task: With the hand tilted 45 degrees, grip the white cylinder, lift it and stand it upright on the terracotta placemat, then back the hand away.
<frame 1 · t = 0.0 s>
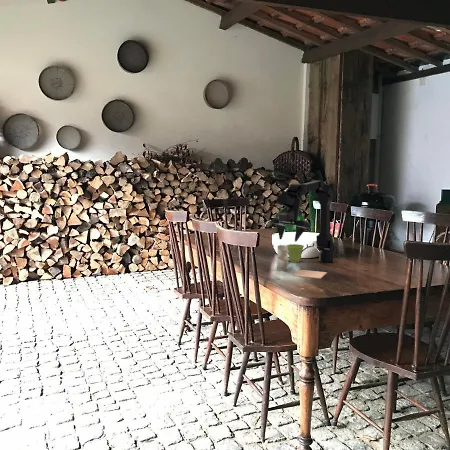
hand: (287, 240, 236), 15 cm above the table, tool pointing down, fingers open, 9 cm apart
white cylinder: (282, 269, 242), on the table
placemat: (310, 274, 233), on the table
plant pot: (294, 261, 263), on the table
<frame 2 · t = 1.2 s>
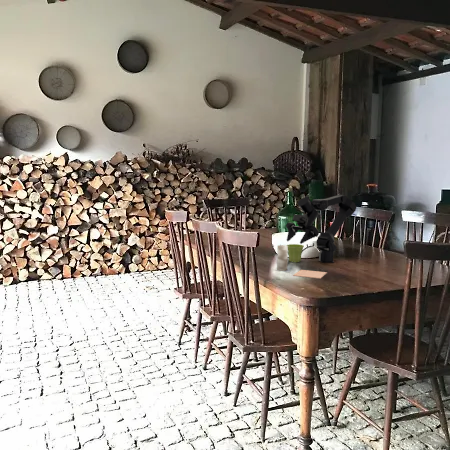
hand: (293, 242, 245), 13 cm above the table, tool tilted 45°, fingers open, 9 cm apart
nothing on the table moved.
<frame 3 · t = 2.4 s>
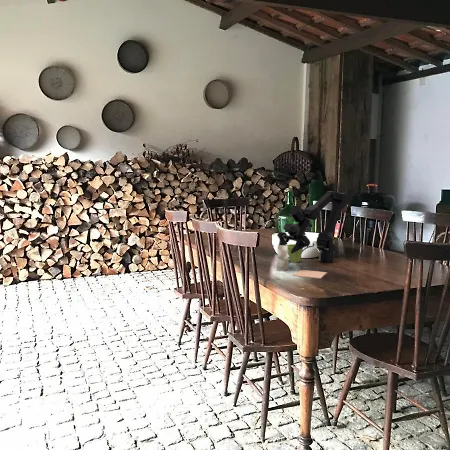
hand: (284, 251, 242), 9 cm above the table, tool tilted 45°, fingers open, 9 cm apart
nothing on the table moved.
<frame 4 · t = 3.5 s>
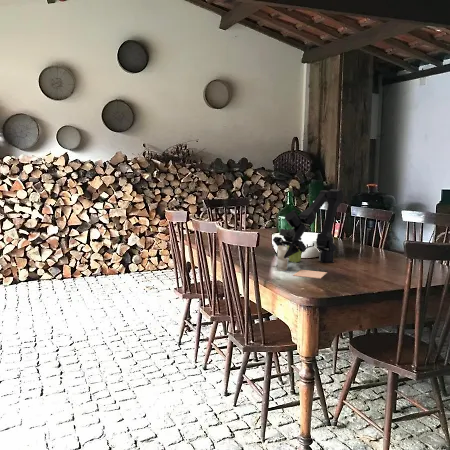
hand: (280, 257, 241), 7 cm above the table, tool tilted 45°, fingers closed on white cylinder, 5 cm apart
white cylinder: (282, 269, 242), on the table, touching gripper
everything else where it was.
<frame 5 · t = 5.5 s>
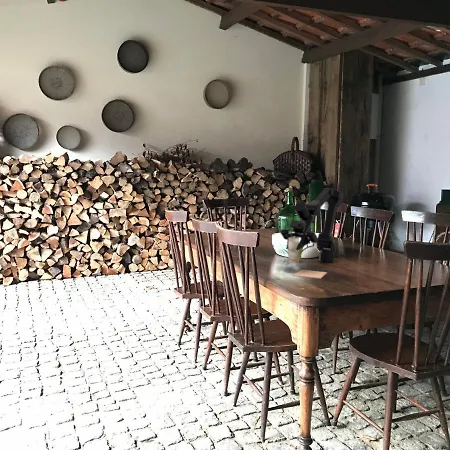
hand: (292, 249, 235), 11 cm above the table, tool tilted 45°, fingers closed on white cylinder, 5 cm apart
white cylinder: (293, 262, 237), point 5 cm above the table, touching gripper
everything else where it was.
when the fingers open (8 cm above the table, at t = 7.3 s): white cylinder drops 1 cm, resting on placemat.
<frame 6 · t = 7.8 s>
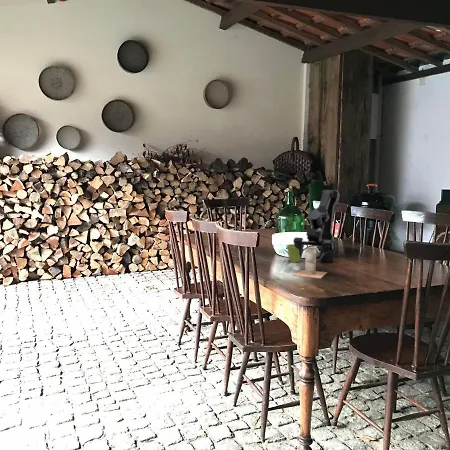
hand: (309, 258, 230), 8 cm above the table, tool tilted 45°, fingers open, 9 cm apart
white cylinder: (310, 273, 233), resting on placemat
everything else where it was.
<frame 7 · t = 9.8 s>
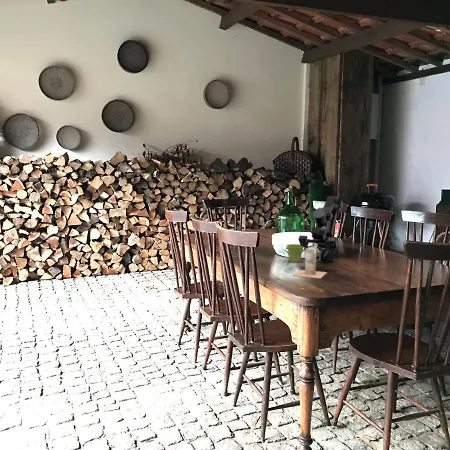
hand: (314, 255, 238), 8 cm above the table, tool tilted 45°, fingers open, 9 cm apart
nothing on the table moved.
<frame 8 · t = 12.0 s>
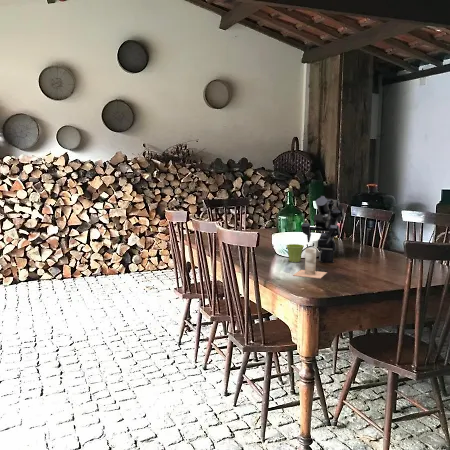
hand: (317, 242, 242), 14 cm above the table, tool tilted 45°, fingers open, 9 cm apart
nothing on the table moved.
at the end: white cylinder 0.1 cm from the placemat (horizontally); white cylinder tilted 0°; white cylinder resting on placemat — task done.
